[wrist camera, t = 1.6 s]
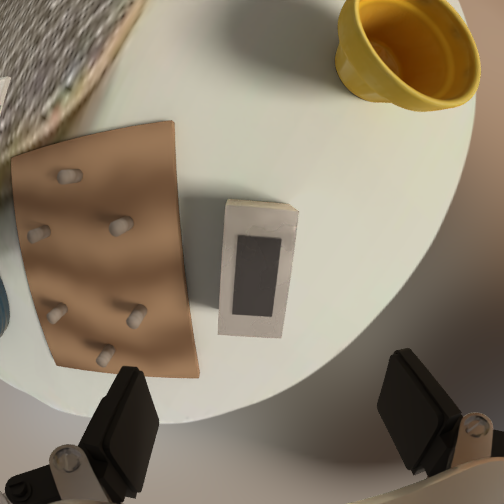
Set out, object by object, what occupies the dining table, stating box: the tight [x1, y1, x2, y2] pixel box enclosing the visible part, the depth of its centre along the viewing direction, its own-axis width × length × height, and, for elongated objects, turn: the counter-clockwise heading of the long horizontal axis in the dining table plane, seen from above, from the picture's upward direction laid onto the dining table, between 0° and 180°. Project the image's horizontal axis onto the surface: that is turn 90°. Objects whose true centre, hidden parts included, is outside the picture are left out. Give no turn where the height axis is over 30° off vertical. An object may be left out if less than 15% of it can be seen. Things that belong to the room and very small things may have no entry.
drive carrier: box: [218, 199, 299, 338], centre depth 23 cm, size 10×5×5 cm, turn 175°
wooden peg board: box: [11, 120, 200, 378], centre depth 23 cm, size 24×18×4 cm
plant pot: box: [335, 0, 481, 112], centre depth 16 cm, size 10×10×10 cm
